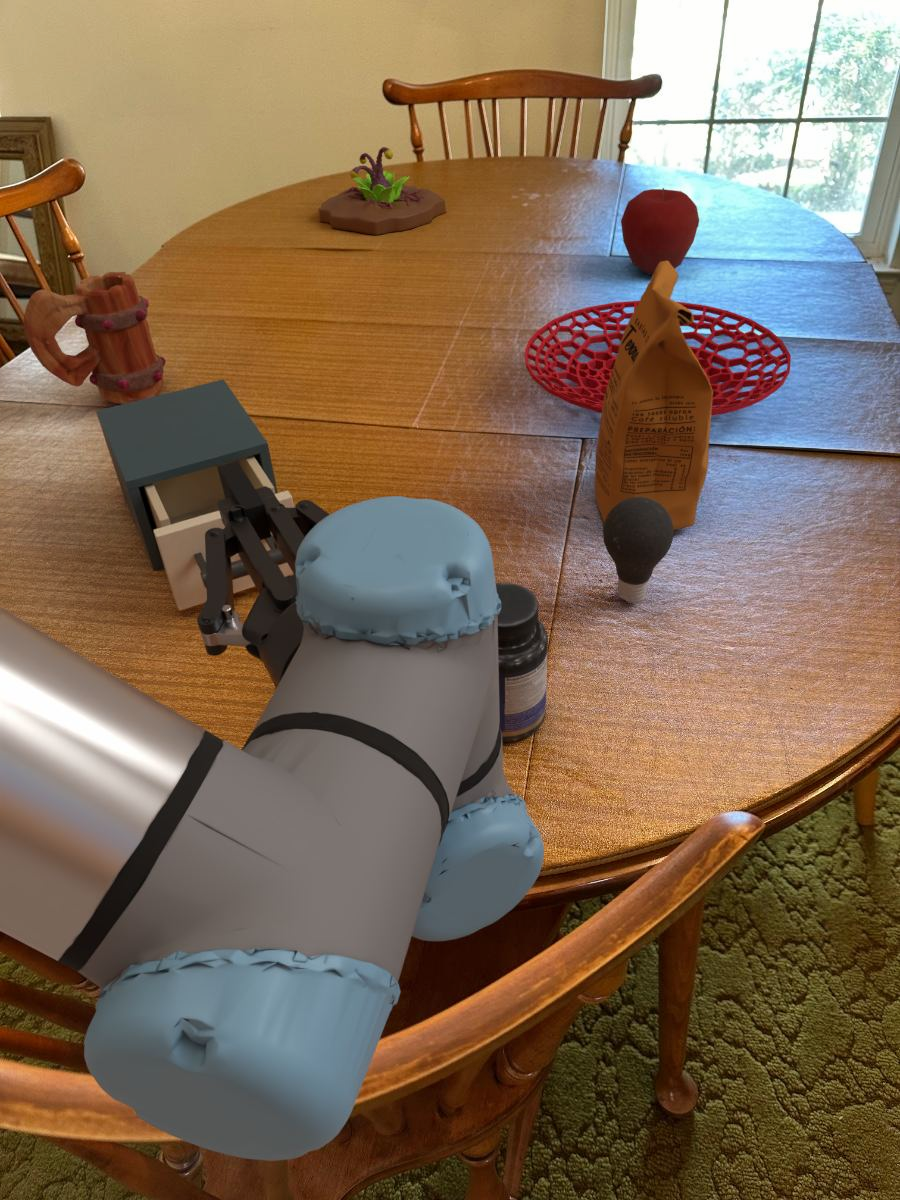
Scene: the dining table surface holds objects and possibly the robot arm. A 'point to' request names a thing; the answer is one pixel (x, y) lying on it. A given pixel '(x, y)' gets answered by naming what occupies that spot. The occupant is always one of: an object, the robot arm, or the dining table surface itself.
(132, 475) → the cabinet
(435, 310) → the dining table surface
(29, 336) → the mug
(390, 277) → the dining table surface
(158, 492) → the drawer
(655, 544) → the light bulb
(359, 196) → the plant
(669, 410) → the coffee package
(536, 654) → the pill bottle
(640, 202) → the apple
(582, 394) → the bowl
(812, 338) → the dining table surface
